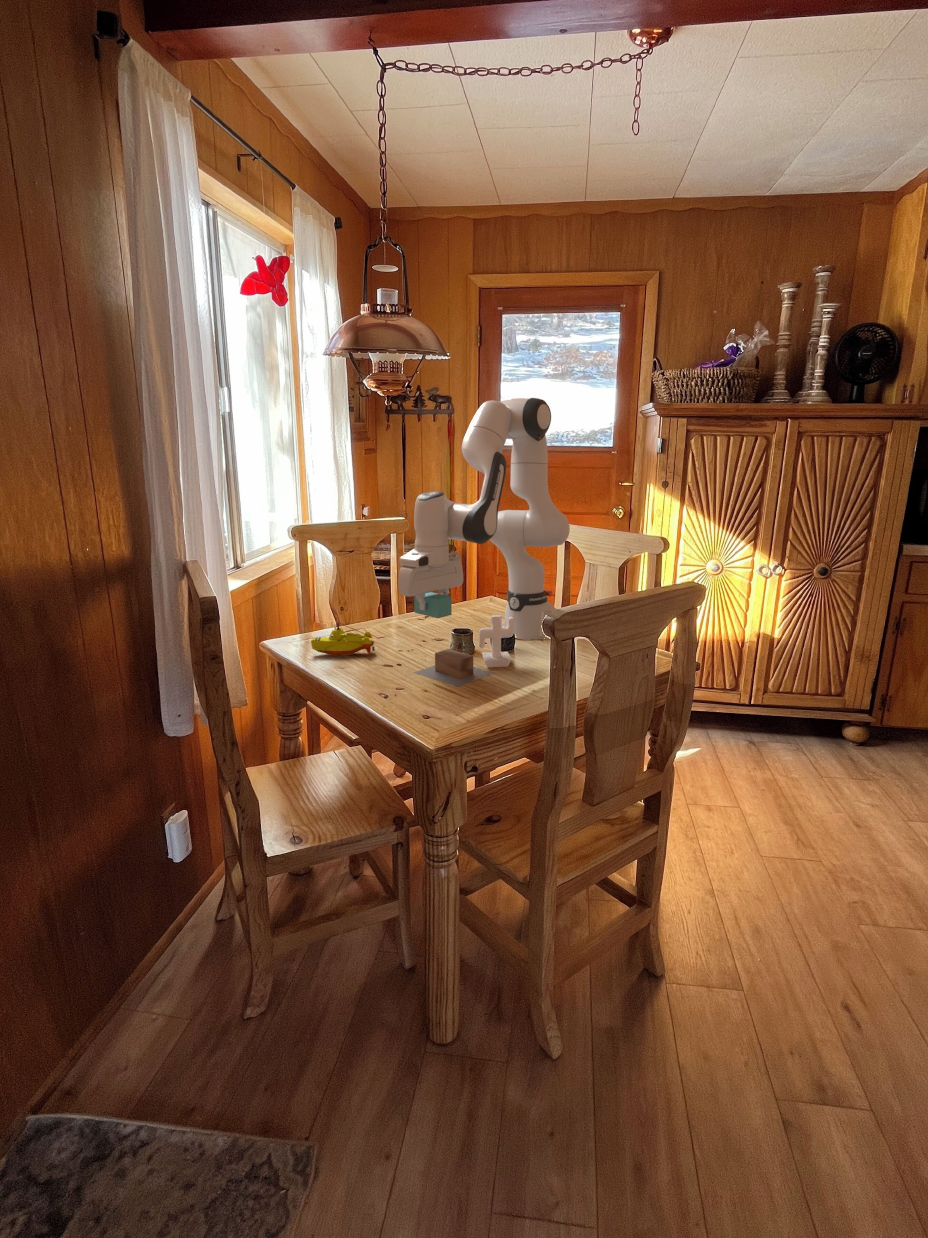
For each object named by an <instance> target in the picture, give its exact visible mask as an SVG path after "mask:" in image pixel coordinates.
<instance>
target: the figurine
mask: <svg viewBox="0 0 928 1238" xmlns="http://www.w3.org/2000/svg"><path fill="white" fill-rule="evenodd" d="M502 617H503V616H502V615H500V614H493V615H491V616H490V621H491V627H482V628H480V629H479V631H478V647H479V648H480V649H484V648H485V646H486V639H491V651H485V652H484V651H483V652H481V655H482V657H483V660H484V663H485V665H486V667H487V668H505V667H507V668H508V667H509V665H510V663H511V662H512V658H511V655H510V653H509V652H508V651H502V638H503V639H504V638H510V637H512V636H513V634H514V618H513V617H509V618H508V626H507V627H502V622H503V618H502Z"/></svg>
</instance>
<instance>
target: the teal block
mask: <svg viewBox="0 0 928 1238" xmlns="http://www.w3.org/2000/svg"><path fill="white" fill-rule="evenodd" d="M413 599H414V600H413V602H414V603H413V605H414V608H413V609H414V613H415V614H418V615H422V616H426V617H431V618H435V619H441V618H445V617H448V616H449V617H450V616H452V615H453V614H452V610H453V609H452V596H451V595H448V596H447V595H442V594H441V593H438V592H429V593H425V597H424V601H425V603H428V609H426V610H420V608H419V602H418V600H417V599H416V595H415V596H413Z"/></svg>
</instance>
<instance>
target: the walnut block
mask: <svg viewBox="0 0 928 1238" xmlns="http://www.w3.org/2000/svg"><path fill="white" fill-rule="evenodd" d="M434 666H435V671H436V672H439V673H442V674H445V675H449V676H452V677H455V678H458V679H462V678H464V677H467V676H470V675H473V667H474V655H472V654H468V653H465V652H461V651H457V650H454V649H450V648H447V649H444V650H441V651H437V652H435V653H434Z"/></svg>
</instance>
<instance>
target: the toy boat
mask: <svg viewBox="0 0 928 1238" xmlns="http://www.w3.org/2000/svg"><path fill="white" fill-rule="evenodd" d="M339 625H342V626H344V627H347V628H349V629H351V630H354V631H356V632H358V633H355V632H354V633H352V632H350V633H349V632H347V631H346V630H344V629H343V628H341V627H340V626H339ZM346 632H347V633H346ZM359 633H361V634H363V635H361V634H359ZM373 638H374V637H373V635H372V634H371V632H370V631H365V633H364V632H362V631H360V630H358V629H355V628H353V627H350V626H348V625H346V624H344V623H340V622H339V621H337V626H336V624H335V623H334V629H333V630H331V632H330V634H329V636H328V637H326V636H324V637H323V636H322V637H320V636H319V637H314V638H311V640H310V644H311V649H312V650H314V651H316V652H318V653H321V654H326V655H329V656H334V657H335V656H348V655H349V656H351V655H354V654H355V653H357V652H360V651H362V650H366V652H367V654H368V655H371V654H372V653H371V650H372V652H375V650H376V649H375V645H374V644H375V640H373Z"/></svg>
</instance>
